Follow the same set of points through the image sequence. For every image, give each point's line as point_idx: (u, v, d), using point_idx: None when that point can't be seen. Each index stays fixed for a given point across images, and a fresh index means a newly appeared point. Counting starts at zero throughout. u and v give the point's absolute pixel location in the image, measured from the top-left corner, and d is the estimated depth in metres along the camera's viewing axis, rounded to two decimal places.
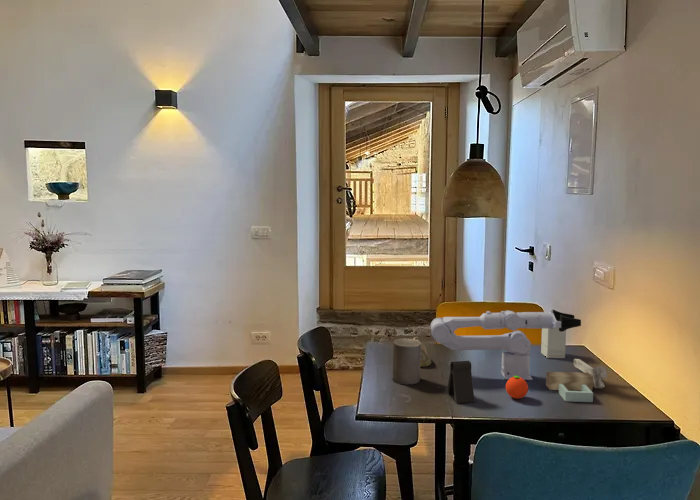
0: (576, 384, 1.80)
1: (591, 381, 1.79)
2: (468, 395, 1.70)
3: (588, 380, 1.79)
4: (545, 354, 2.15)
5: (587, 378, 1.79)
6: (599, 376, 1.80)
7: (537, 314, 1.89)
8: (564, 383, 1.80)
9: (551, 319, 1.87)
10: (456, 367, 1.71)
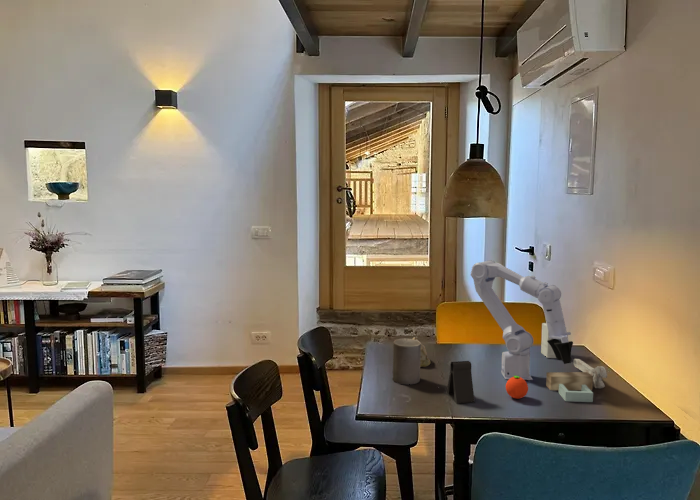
0: (576, 384, 1.80)
1: (591, 380, 1.80)
2: (468, 395, 1.70)
3: (588, 380, 1.80)
4: (545, 354, 2.15)
5: (587, 378, 1.80)
6: (599, 376, 1.80)
7: (560, 320, 1.80)
8: (565, 383, 1.80)
9: (562, 334, 1.79)
10: (456, 367, 1.71)
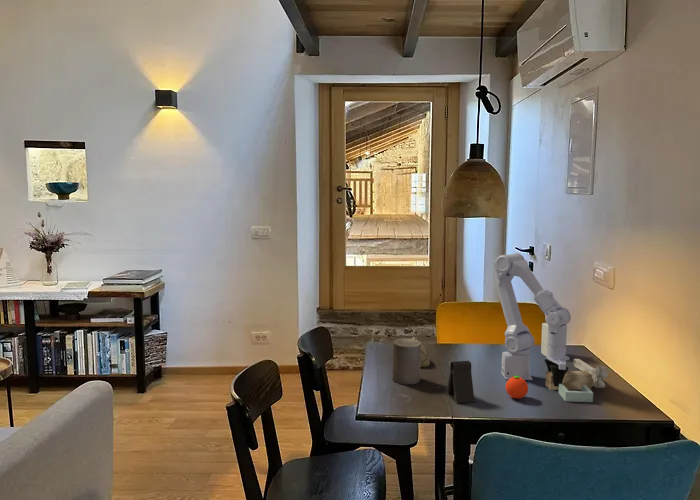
0: (576, 383, 1.81)
1: (590, 379, 1.81)
2: (468, 395, 1.70)
3: (587, 379, 1.81)
4: (545, 354, 2.15)
5: (587, 376, 1.80)
6: (600, 376, 1.80)
7: (561, 345, 1.78)
8: (564, 382, 1.80)
9: (561, 359, 1.79)
10: (456, 367, 1.71)
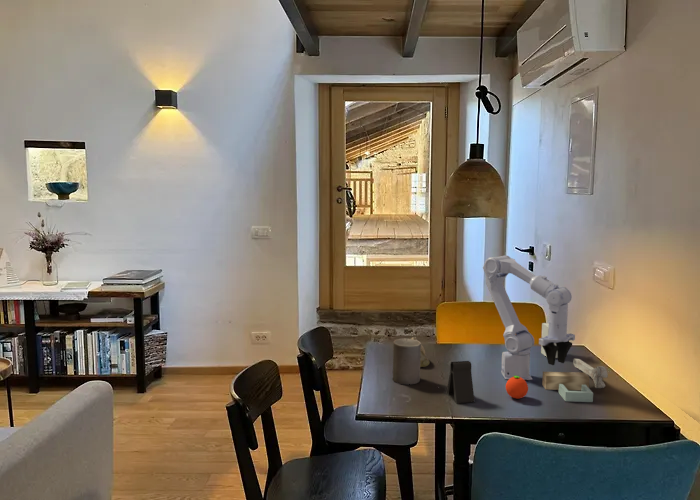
0: (572, 384, 1.80)
1: (587, 381, 1.80)
2: (468, 395, 1.70)
3: (584, 380, 1.80)
4: (545, 354, 2.15)
5: (584, 378, 1.80)
6: (599, 376, 1.80)
7: (562, 325, 1.77)
8: (560, 383, 1.80)
9: (553, 337, 1.79)
10: (456, 367, 1.71)
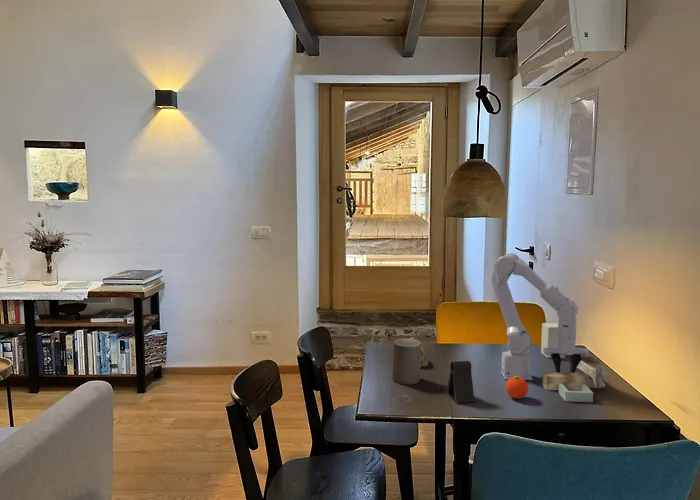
0: (573, 384, 1.80)
1: (588, 381, 1.79)
2: (468, 395, 1.70)
3: (585, 381, 1.79)
4: None
5: (584, 378, 1.79)
6: (600, 376, 1.80)
7: (573, 337, 1.81)
8: (560, 383, 1.80)
9: (558, 349, 1.83)
10: (456, 367, 1.71)
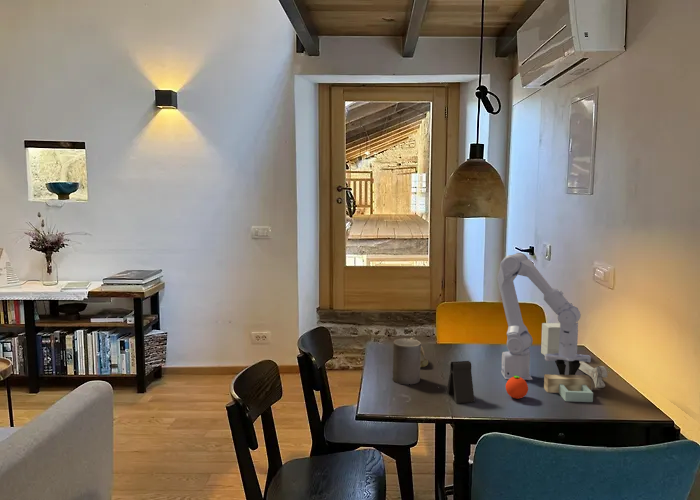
0: (574, 387, 1.77)
1: (590, 384, 1.77)
2: (468, 395, 1.70)
3: (587, 383, 1.77)
4: None
5: (586, 381, 1.77)
6: (599, 376, 1.80)
7: (574, 344, 1.79)
8: None
9: (560, 355, 1.81)
10: (456, 367, 1.71)
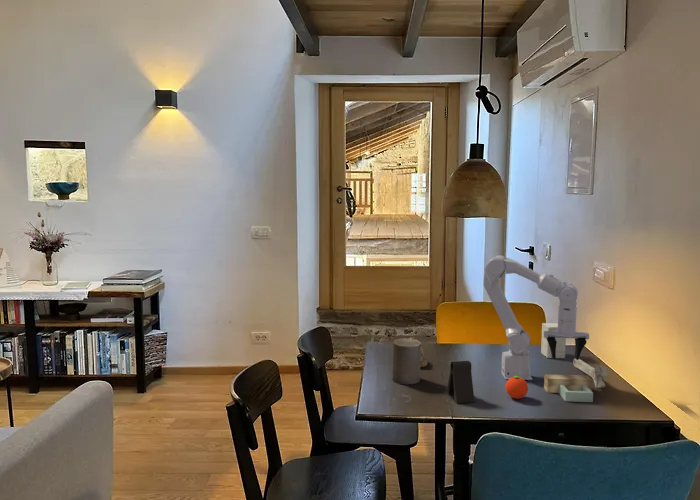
0: (574, 387, 1.77)
1: (590, 384, 1.77)
2: (468, 395, 1.70)
3: (587, 383, 1.77)
4: (545, 354, 2.15)
5: (586, 381, 1.77)
6: (600, 376, 1.80)
7: (574, 321, 1.82)
8: None
9: (558, 332, 1.84)
10: (456, 367, 1.71)
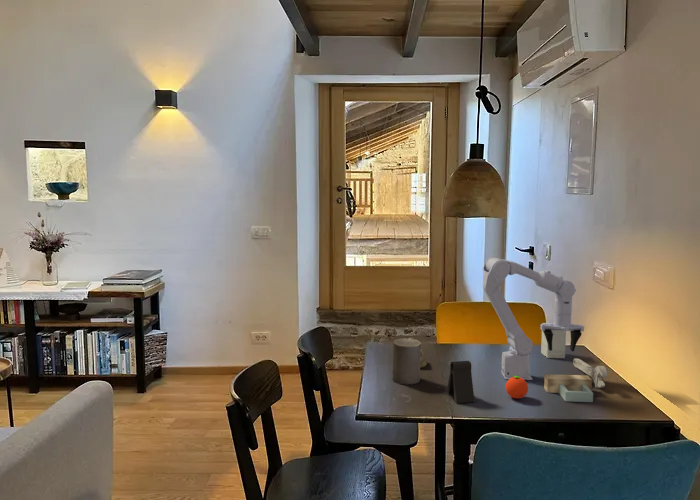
0: (574, 387, 1.77)
1: (590, 384, 1.77)
2: (468, 395, 1.70)
3: (587, 383, 1.77)
4: (545, 354, 2.15)
5: (586, 381, 1.77)
6: (599, 376, 1.80)
7: None
8: None
9: (554, 325, 1.91)
10: (456, 367, 1.71)
